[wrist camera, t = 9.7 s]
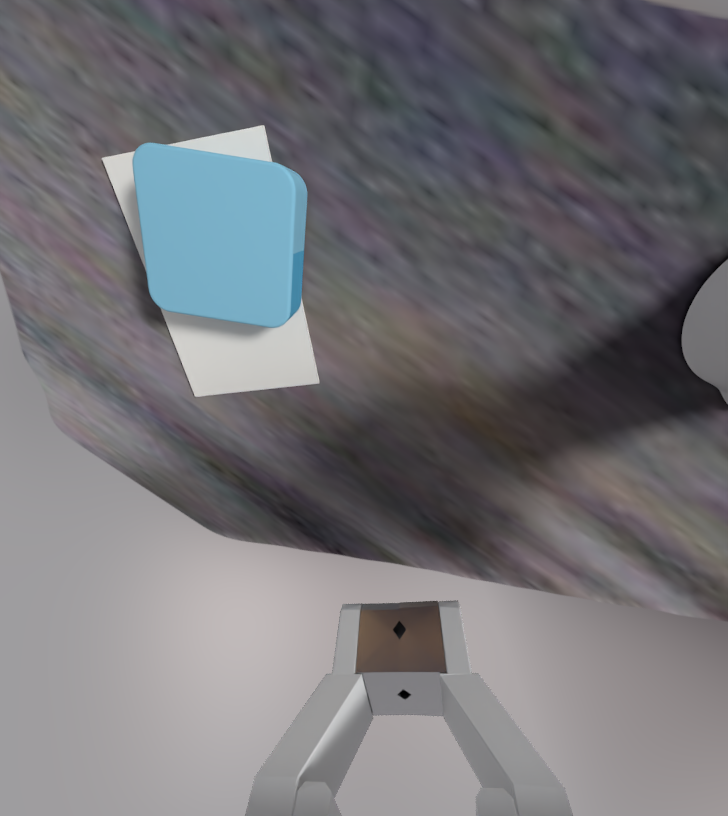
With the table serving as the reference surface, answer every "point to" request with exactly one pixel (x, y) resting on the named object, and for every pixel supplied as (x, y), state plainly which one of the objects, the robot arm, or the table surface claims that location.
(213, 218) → the data package
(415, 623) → the robot arm
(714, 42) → the table surface
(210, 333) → the mat
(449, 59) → the table surface
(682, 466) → the table surface
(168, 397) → the table surface
